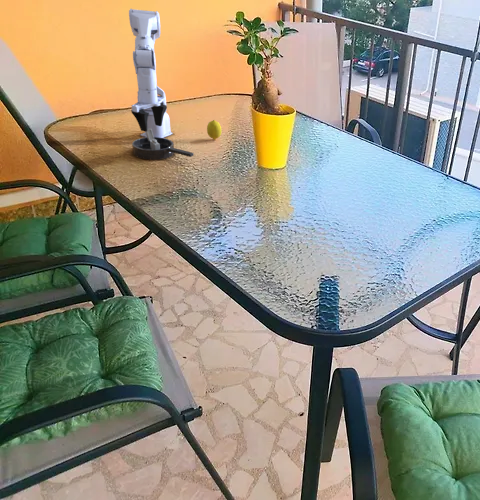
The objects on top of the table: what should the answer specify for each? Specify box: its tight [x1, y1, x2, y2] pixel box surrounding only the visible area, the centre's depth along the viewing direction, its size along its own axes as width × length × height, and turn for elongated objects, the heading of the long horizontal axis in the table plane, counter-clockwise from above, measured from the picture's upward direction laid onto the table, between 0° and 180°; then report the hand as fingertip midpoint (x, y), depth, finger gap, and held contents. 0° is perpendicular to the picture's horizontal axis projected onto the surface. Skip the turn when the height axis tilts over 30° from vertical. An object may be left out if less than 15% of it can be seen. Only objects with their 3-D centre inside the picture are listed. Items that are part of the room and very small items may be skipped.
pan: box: [131, 137, 175, 161], centre depth 166 cm, size 14×14×4 cm
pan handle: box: [169, 147, 195, 158], centre depth 163 cm, size 2×9×1 cm, turn 71°
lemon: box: [206, 119, 223, 141], centre depth 184 cm, size 6×6×8 cm
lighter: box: [146, 129, 160, 150], centre depth 165 cm, size 7×2×8 cm, turn 43°
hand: (151, 128), depth 162 cm, fingers open, 7 cm apart
